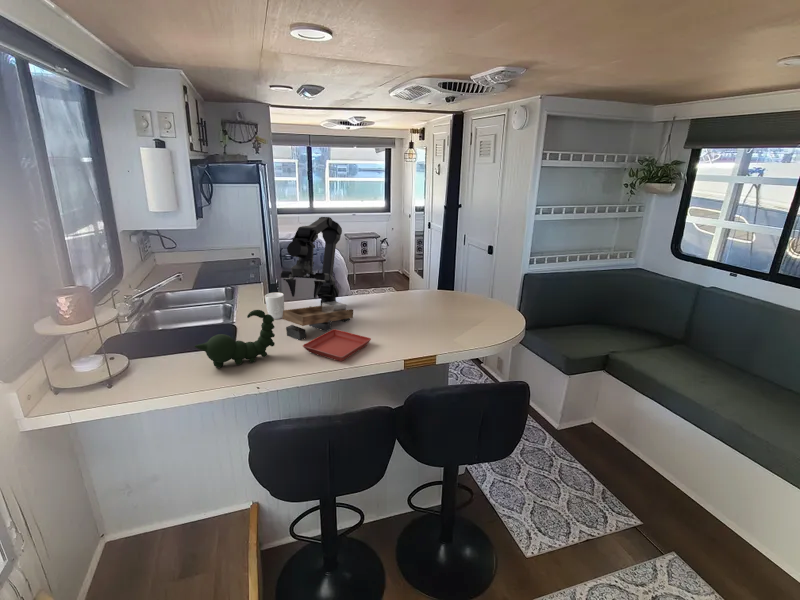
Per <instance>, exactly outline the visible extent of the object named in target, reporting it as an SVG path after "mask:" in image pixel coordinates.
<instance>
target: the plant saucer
mask: <svg viewBox="0 0 800 600" xmlns="http://www.w3.org/2000/svg"><path fill="white" fill-rule="evenodd" d="M371 340H372V338H370V337H366V336H363V335H360V334H356V333H351V332H347V331H343V330H341V329H340V330H339V329H335V328H333V329H330V330H328V331H326V332H325V333H323V334H322V335H319V336H318V337H315V338H314V339H312V340H310V341H308V342H306V343H304V344H303V345H302V347H303V348H304V349H305V350H306V351H308V352H309V353H310V352H311V354H313V353H314V354H315V355H317V354H318V356H320V355H321V356H320V357H324V356H325V358H327V357H328V359H331V360H334V359H335V360H334V361H337V360H338V362H343V361H344V360H346V359H348V358H349V357H351V356H352V355H354V354H355V353H357V352H358V350H359V351H360V350H362V349H363V348H364V347H366V346H367V345H368V344H369V343H370V342H371ZM347 357H348V358H347Z"/></svg>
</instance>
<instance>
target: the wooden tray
mask: <svg viewBox="0 0 800 600" xmlns="http://www.w3.org/2000/svg"><path fill="white" fill-rule="evenodd" d="M348 318H350V319H354V309H353V308H351V309H346V310H342V311H335V312H327V313H324V312H322V306H321V305H317V306H316V305H315V306H307V307H299V308H293V309H292V308H291V309H284V310H283V318H282V320H284V321H286V322H290V323H292V324H295V325H299V326H302V327H304V326H309V325H311V324H317V323H323V322H327V323H332V322H335V321H340V320H342V319H348Z"/></svg>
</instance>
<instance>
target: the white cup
mask: <svg viewBox="0 0 800 600" xmlns="http://www.w3.org/2000/svg"><path fill="white" fill-rule="evenodd" d="M264 300H265V307H266V311H267V314H269V315H271V316H272V317H273V318H274V320H280V319H283V310H285V295H284V293H282V292H269V293H266V294H265V295H264Z"/></svg>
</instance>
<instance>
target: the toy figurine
mask: <svg viewBox="0 0 800 600" xmlns="http://www.w3.org/2000/svg"><path fill="white" fill-rule="evenodd" d="M246 316H247V319H249V318H252V317H258V318H260V319H262V322H261V330H260V332H259V336H258V338H257V340H255V341H246V342H245V341H243V340H235V339H234V338H233V337H231V336H230V335H229V334H228V335H227V334H225V333H219V334H218V333H217V334H215V335H213V336H212V337H210V338H209V339H208V340H207V341H206V342H204V343H198V344H195V345H194V348H196V349H197V350H198V349H199V350H201V351H203V352H204V353H205V354H206V356H207V358H208V359H209V360H211V361H212V363H213V366H214V368H215V367H216V368H219V367H220V368H222V367H223V366H224V363H226V362H229V361H230V360H232V361H234V364H235V365H242V364H243V362H244V361H243V360H248V361H249V363H250V364H252V363H255V362H256V358H258V356H261V357H262V358H266V357H267V356H268V352H267V348H268V347H269V346H270V347H274V346H275V342H274V339H272V338H275V335H276V334H275V333H274V331H273V329H275V325H274V323H273V322H274V321H275V319H274V318H273V317H272V316H271V315H269V314H268V313H267V314H266V313H265V311H264V310H262V309H253V310H251V311H249V313H248V314H247V315H246ZM220 368H219V369H220Z"/></svg>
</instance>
